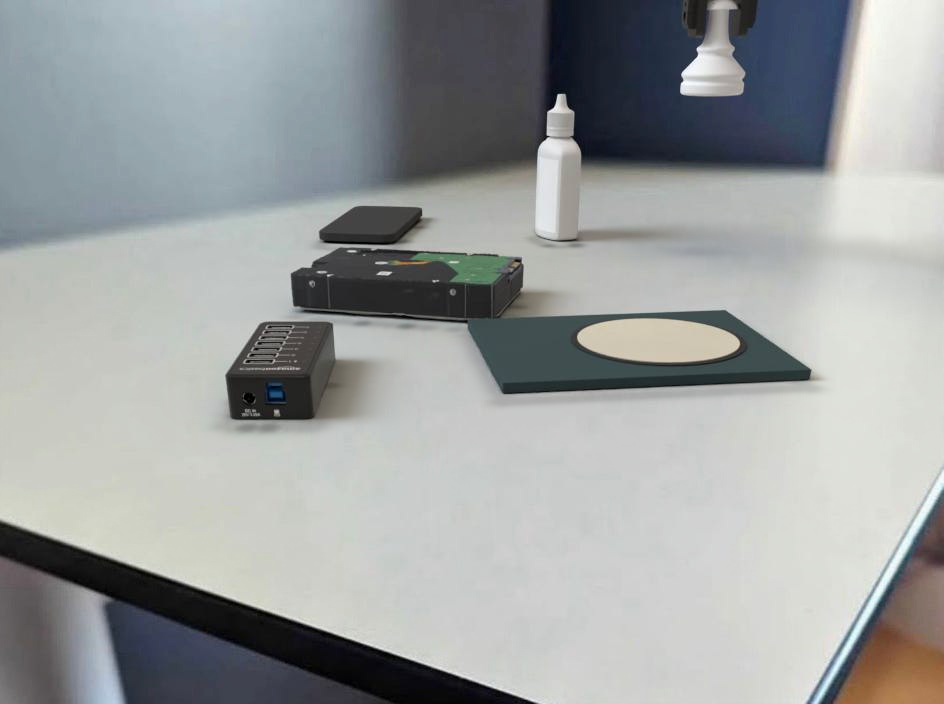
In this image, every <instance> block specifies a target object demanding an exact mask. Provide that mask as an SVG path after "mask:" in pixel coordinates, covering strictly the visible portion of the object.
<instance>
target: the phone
mask: <svg viewBox="0 0 944 704" xmlns="http://www.w3.org/2000/svg"><path fill="white" fill-rule="evenodd" d="M422 217H423V208H422V207H418V206H396V205H395V206H392V205H391V206H389V205H388V206H387V205H357V206H353V207H352V208H351V209H349V210H348V211H346V212H345V213H343V214H342V215H340V216H339V217H337V218H335V219H334V220H333V221H332V222H330V223H328V224H327V225H325V226H324V227H322V228H320V229H319V231H318V239H319V240H321V241H325V242H351V243H393V242H395V241H397V240H398V239H399V238H400V237H401V236H403V234H404V233H405V232H406V231H408V230H409V229H410V228H411V227H412V226H413V225H414V224H415V223H416V222H418V221H419V220H420V219H421V218H422Z"/></svg>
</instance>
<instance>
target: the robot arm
mask: <svg viewBox="0 0 944 704" xmlns="http://www.w3.org/2000/svg"><path fill="white" fill-rule="evenodd" d="M708 1H709V0H682V10H681V20H680V21H681V26H682V29H683V30H687V37H688V38H692V39H697V38H700V39H701V38H704V37H705V34H706V24H707V13H708V10H707V2H708ZM732 1H734V2H735V3H736V4H737V6H738V9H731V14H730V23H729V37H731V38H746V37H747V35H748V31H749V29H753V27H754V25H755V24H756V19H757V11H758V3H759V0H732Z"/></svg>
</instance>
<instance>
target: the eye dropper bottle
mask: <svg viewBox="0 0 944 704" xmlns="http://www.w3.org/2000/svg"><path fill="white" fill-rule="evenodd" d="M567 102H568V101H567V94H566V93H558V94H557V96H556V102H555V104H554V107H553V108H551V109H550V110H548V111H547V115H546V136H548V137H546V139H545V140H543V141H542V142H541V143H540V145H539V147H538V149H537V156H536V157H537V160H536V187H535V188H536V189H535V191H536V192H535V213H534V214H535V216H534V217H535V219H534V231H535V233H536V235H537V236H539V237H541V238H543V239H546V240H551V241H573V240H576V239H577V237H578V234H579V233H578V232H579V217H580V214H579V213H580V197H581V194H580V193H581V177H582V176H581V175H582V174H581V173H582V152H581V148H580V147H579V144H578V143H577V141H575V140H574V138H573V137H574V133H575V132H574V128H575V111H574V110H573V109H570V107H568V103H567Z"/></svg>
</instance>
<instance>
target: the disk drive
mask: <svg viewBox="0 0 944 704" xmlns="http://www.w3.org/2000/svg"><path fill="white" fill-rule="evenodd" d="M522 261H523V257H522V256H511V255H499V254H497V253H496V254H495V253H467V252H455V251H454V252H453V251H451V252H450V251H434V250H433V251H431V250H430V251H429V250H411V249H395V248H394V249H391V248H373V247H371V248H370V247H354V246H352V247H343V246H341V247H337V248H336V249H334V250H332V251H331V252H328V253H327V254H325V255H324V256H321V257H319V258H317V259H315V260H313V261H312V262H311V266H310V267H304V266H303V267H300V268H298V269H297V270H295V271H292V272H290V284H291V285H290V286H291V287H290V288H291V299H292V305H293V307H294V308H301V309H303V310H309V311H320V312H321V311H322V312H323V311H324V312H334V313H335V312H337V313H346V314H352V315H353V314H355V315H364V316H365V315H366V316H371V315H372V316H373V315H375V316H377V315H378V316H379V315H380V316H382V315H384V316H385V315H396V316H407V317H412V318H418V319H430V320H444V321H445V320H447V321H468V319H491V318H496V317H499V315H500V314H501V313H502V312H503V311H504V310H505V309H506V308H507V307H508V306H509V305H510V303H511V302H512V301H513V300H514V299H515V298H516V297H517V296H518V295H519V294H520V293H521V289H523V287H524V271H525V269H524V266H525V265H524V263H523V262H522Z"/></svg>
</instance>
